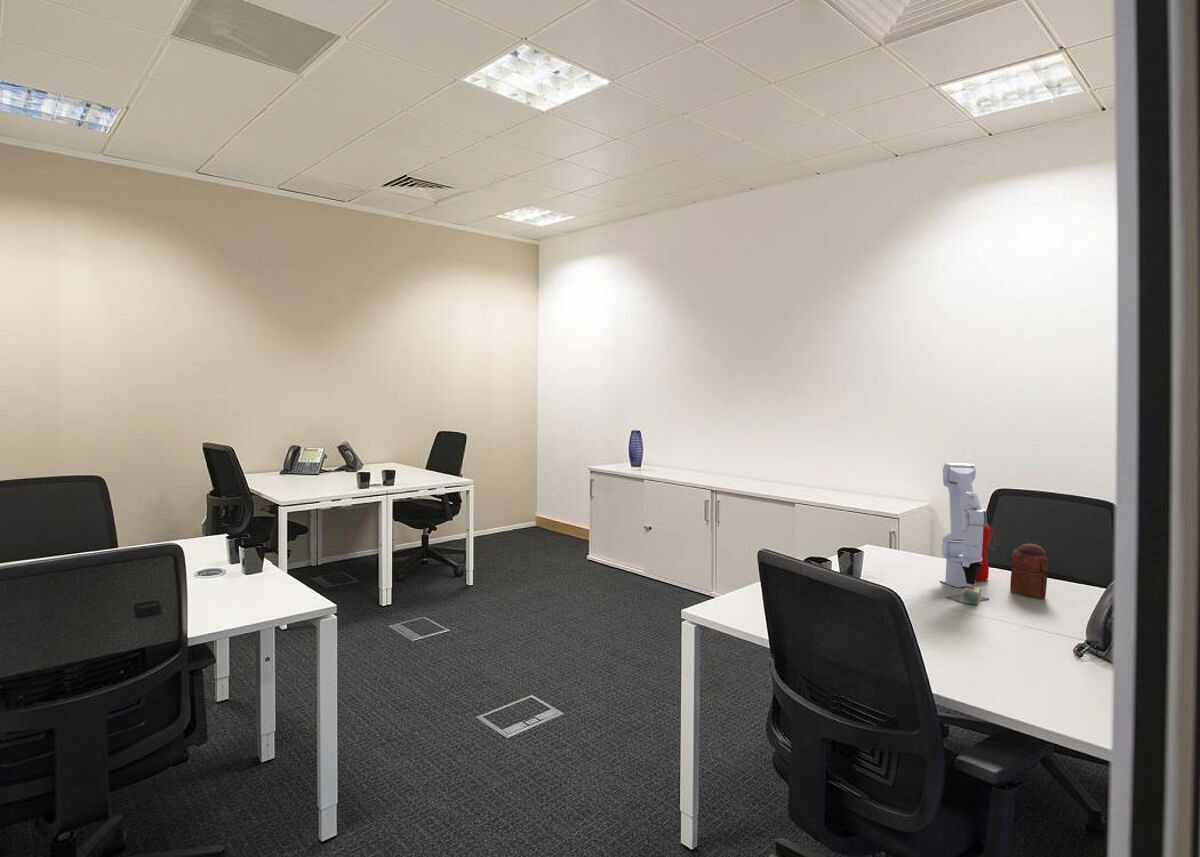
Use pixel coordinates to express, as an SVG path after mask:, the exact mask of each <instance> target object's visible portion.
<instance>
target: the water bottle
mask: <svg viewBox="0 0 1200 857" xmlns="http://www.w3.org/2000/svg"><path fill="white" fill-rule="evenodd" d="M991 530H992V531H991ZM992 532H993V534H995V532H994V530H993V529H992V528H991V527H990V525H989V523H987V522H986V526H985V527H983V544H982V561H981V562H978V563H982V567H981V568H980V570H979V572H978V574H977V578H976V581H977V582H987V580H988V579H989V573H990V572H989V571H990V570H989V569H990V567H989V561H988V557H987V551H988V547H989V544H990V541H991V536H992V535H991V534H992ZM993 536H994V538H996V536H995V535H993ZM996 542H997V541H996V540H994V543H995V545H994V547H996V544H997V543H996ZM989 548H990V550H993V548H992V547H991V546H990V547H989ZM976 581H975V582H976Z"/></svg>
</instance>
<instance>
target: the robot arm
mask: <svg viewBox="0 0 1200 857" xmlns="http://www.w3.org/2000/svg"><path fill="white" fill-rule="evenodd" d="M976 469H977V468H976V466H975V465H974V464H973V463H949V462H945V463H944V465H943V467H942V483H943V486H944V487H946V488H948V489H947V490H948V495H949V517H950V520H949V521H950V524H949V525H950V532H949V533H948V534H946V535H944V536H943V537H942V544H941V552H942V553H941V554H942V557H943V558H945V559H946V563H945V564H946V565H945V579H940V580H939V582H940V583H943V584H946V585H949V586H952V587H955V588H966V587H967V586H976V585H977V583H976V578H977V574H978V572H979V570H980V568H981V567H982V563H978V562H981V561H982V544H983V527H985V526H986V523H987V517H988V516H987V511H986V509H984V507H982V506H981V502H980V500H979V496H978V495H977V494H976V493H974V489H973V482H974V480H975V479H976V474H977V471H976Z"/></svg>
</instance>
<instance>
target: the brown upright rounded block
mask: <svg viewBox="0 0 1200 857" xmlns="http://www.w3.org/2000/svg"><path fill="white" fill-rule="evenodd" d="M1046 555H1047V552H1046V551H1045V549H1044V548H1043V547H1041V546H1040V545H1038V544H1035V543H1025V544H1022V545H1020V546H1019V547H1018V548H1016V549H1014V550H1013V552H1012V555H1011V561H1010V562H1011V563H1010V571H1011V573H1010V585H1009V591H1010V592H1011V593H1015V594H1017V595H1022V596H1027V597H1031V598H1035V599H1038V600H1046V596H1047V586H1048V585H1047V583H1048V582H1047V581H1048V575H1047V574H1048V564H1049V560H1048V557H1047V556H1046Z"/></svg>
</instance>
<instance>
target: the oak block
mask: <svg viewBox="0 0 1200 857" xmlns="http://www.w3.org/2000/svg"><path fill="white" fill-rule="evenodd" d="M963 590H964V591H963V594H964V602H965V603H966V604H971V605H975V606H978V604H979V603H980V602H981V601H980V599H981V596H982V587H978V586H974V585H972V586H965V588H964V589H963Z"/></svg>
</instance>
